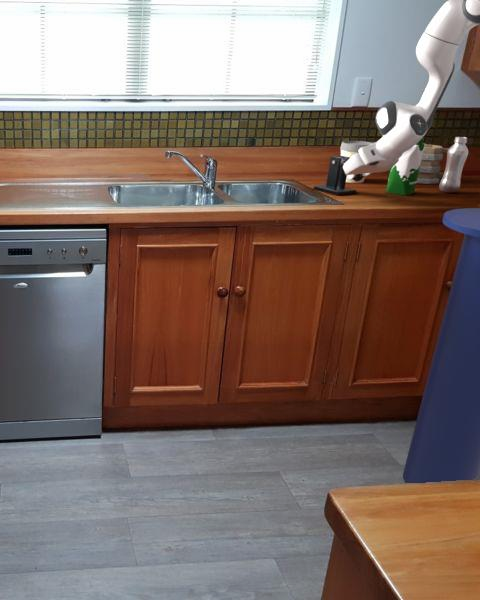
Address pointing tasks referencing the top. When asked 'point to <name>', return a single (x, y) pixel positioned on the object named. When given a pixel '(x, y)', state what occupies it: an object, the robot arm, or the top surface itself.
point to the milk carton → (406, 171)
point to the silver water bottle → (454, 166)
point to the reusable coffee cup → (352, 153)
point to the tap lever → (358, 176)
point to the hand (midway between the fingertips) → (355, 177)
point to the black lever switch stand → (336, 178)
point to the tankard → (431, 164)
